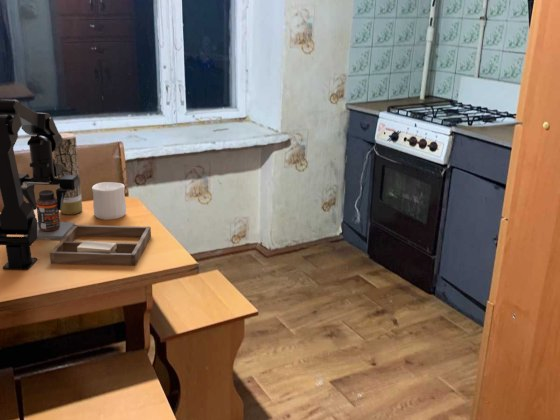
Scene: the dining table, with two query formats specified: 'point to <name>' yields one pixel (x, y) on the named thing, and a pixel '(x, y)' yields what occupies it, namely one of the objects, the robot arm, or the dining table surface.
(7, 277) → the dining table surface
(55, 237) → the mat
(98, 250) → the offcut top
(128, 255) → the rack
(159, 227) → the dining table surface
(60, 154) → the patterned tall cylinder
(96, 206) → the cup
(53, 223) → the supplement bottle
